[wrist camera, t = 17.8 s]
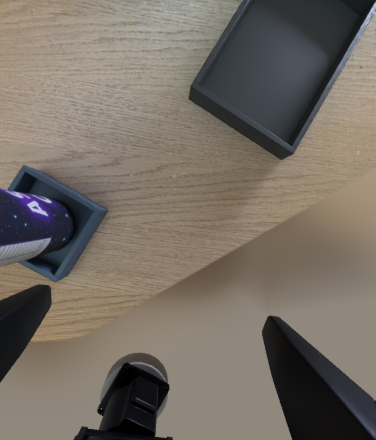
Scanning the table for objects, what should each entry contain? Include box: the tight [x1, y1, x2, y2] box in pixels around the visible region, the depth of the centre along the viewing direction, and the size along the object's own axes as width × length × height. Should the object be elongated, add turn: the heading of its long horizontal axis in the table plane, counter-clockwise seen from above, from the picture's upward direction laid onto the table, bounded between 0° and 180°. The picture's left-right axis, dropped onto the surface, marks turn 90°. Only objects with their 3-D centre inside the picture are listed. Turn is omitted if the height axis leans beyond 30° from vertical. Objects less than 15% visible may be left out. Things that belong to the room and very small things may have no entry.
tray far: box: [189, 0, 376, 160], centre depth 23 cm, size 21×13×2 cm, turn 149°
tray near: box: [8, 165, 108, 282], centre depth 20 cm, size 8×8×2 cm
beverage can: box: [0, 189, 76, 267], centre depth 15 cm, size 6×6×12 cm
